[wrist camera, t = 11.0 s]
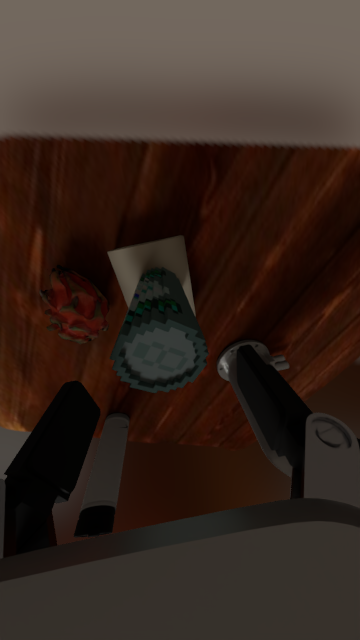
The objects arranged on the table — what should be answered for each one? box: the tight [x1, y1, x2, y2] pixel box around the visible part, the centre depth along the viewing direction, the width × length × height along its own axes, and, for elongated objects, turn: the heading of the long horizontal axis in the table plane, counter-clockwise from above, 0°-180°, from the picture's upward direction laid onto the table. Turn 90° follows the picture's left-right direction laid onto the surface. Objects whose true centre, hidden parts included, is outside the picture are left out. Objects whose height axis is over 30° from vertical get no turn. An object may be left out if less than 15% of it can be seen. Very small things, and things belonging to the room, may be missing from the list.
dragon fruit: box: [40, 265, 109, 344], centre depth 24 cm, size 8×8×12 cm
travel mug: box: [74, 413, 130, 537], centre depth 35 cm, size 6×7×20 cm
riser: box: [107, 235, 196, 316], centre depth 25 cm, size 10×12×4 cm
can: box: [110, 267, 209, 393], centre depth 17 cm, size 6×6×15 cm
